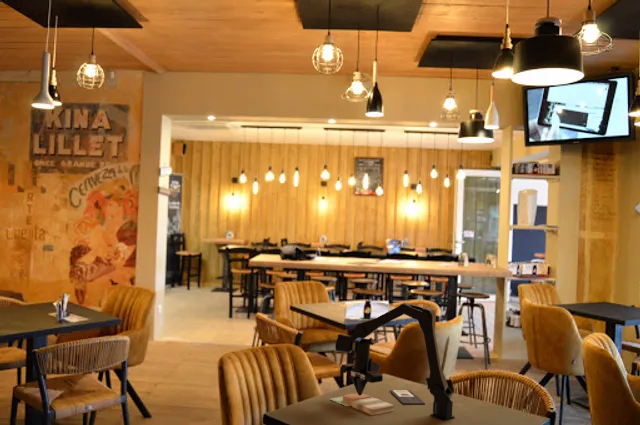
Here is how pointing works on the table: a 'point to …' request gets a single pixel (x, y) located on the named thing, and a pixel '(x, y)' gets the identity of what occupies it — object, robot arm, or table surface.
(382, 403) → the beige square slab
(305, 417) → the table surface
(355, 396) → the salmon orange rectangular block
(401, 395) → the chocolate bar
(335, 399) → the mat
